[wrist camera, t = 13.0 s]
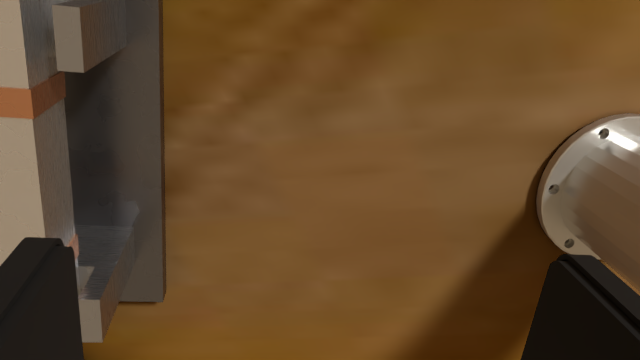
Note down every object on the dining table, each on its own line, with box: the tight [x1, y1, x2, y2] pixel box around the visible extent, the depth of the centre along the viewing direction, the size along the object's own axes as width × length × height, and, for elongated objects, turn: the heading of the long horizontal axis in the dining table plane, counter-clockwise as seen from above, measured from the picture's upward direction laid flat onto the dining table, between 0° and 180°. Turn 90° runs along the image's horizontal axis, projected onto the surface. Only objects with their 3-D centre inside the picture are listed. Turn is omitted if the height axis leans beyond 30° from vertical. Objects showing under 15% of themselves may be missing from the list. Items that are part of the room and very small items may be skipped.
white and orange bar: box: [0, 0, 80, 298], centre depth 28 cm, size 24×5×5 cm, turn 174°
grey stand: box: [52, 0, 166, 342], centre depth 32 cm, size 13×26×10 cm, turn 174°
